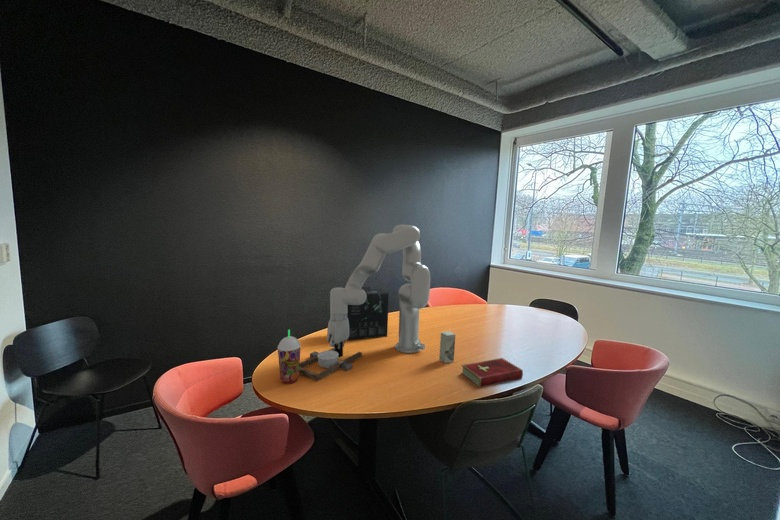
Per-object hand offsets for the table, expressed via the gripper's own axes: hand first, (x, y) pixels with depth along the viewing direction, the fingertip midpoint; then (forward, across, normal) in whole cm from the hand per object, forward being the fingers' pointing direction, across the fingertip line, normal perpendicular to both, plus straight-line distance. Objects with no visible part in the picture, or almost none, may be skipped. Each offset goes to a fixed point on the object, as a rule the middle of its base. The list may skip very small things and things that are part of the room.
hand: (338, 356), depth 142 cm
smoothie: (+1, +25, -2) cm, 26 cm away
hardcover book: (+2, -25, +60) cm, 65 cm away
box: (+2, -27, +40) cm, 48 cm away
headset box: (+2, -31, -9) cm, 32 cm away
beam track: (+1, +5, 0) cm, 6 cm away
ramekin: (+1, +7, 0) cm, 7 cm away
